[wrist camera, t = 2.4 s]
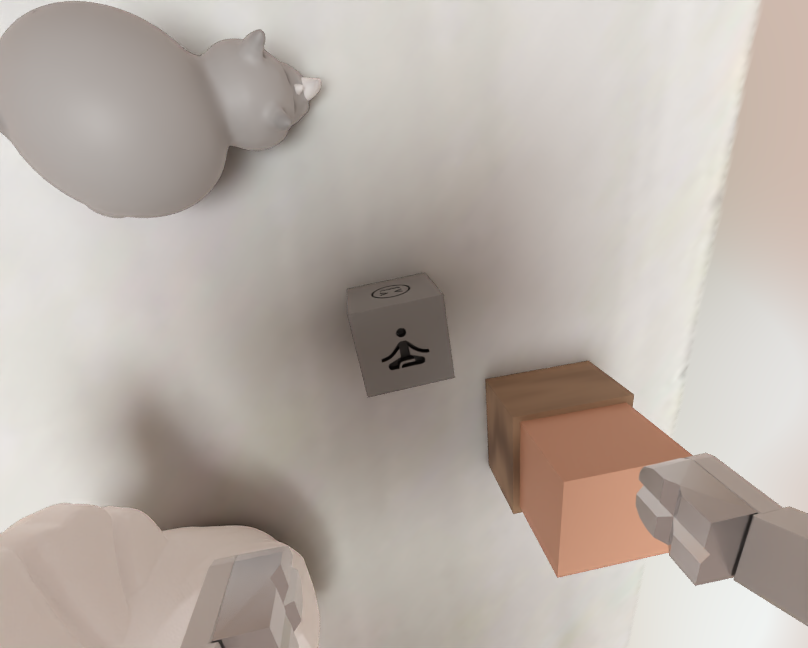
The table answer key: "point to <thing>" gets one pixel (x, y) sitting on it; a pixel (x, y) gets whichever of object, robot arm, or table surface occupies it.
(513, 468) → the walnut base block
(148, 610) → the decorative rooster
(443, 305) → the dice cube
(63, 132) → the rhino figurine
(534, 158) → the table surface
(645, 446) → the terracotta top block
